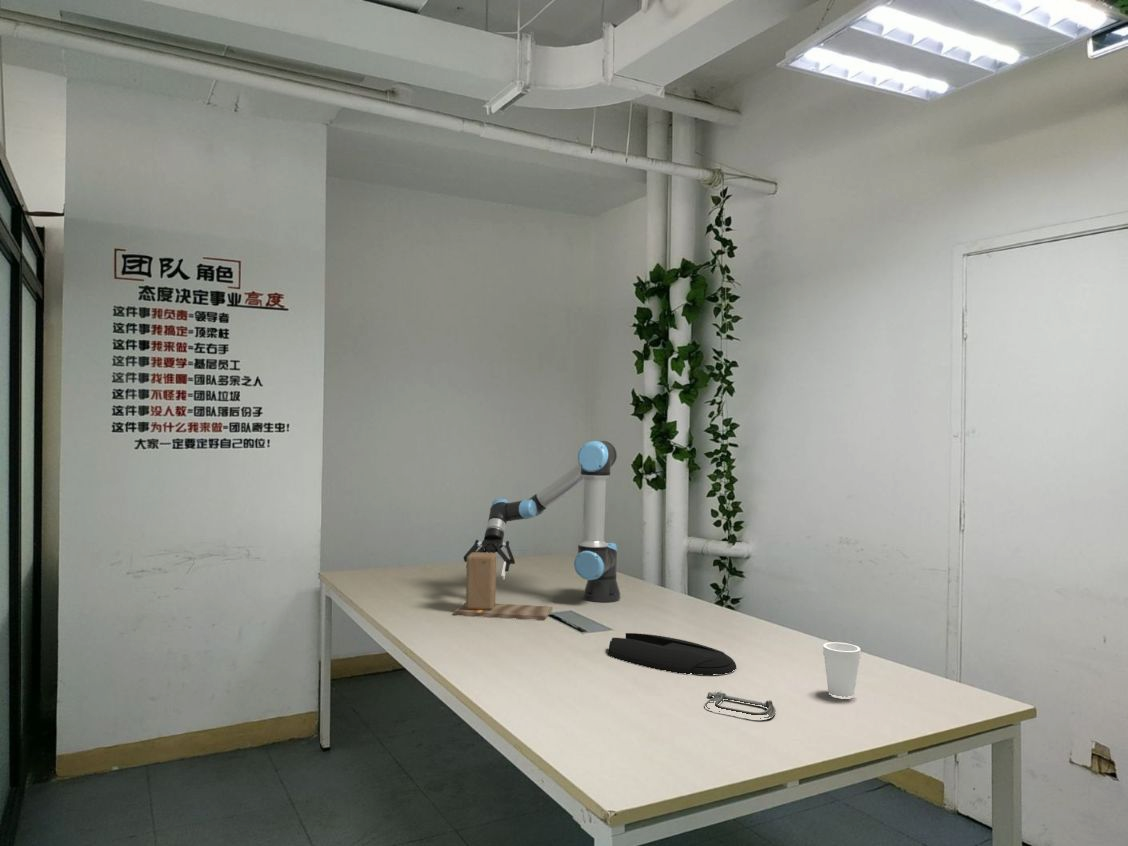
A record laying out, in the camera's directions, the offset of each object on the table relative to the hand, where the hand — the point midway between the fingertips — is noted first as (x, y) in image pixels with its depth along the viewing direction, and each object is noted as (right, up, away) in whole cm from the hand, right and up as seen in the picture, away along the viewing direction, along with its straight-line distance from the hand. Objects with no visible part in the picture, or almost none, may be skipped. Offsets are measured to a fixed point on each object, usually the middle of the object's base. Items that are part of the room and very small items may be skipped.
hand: (485, 576), depth 312 cm
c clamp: (+75, -14, -105) cm, 130 cm away
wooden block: (-1, -10, -7) cm, 12 cm away
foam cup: (+104, -14, -95) cm, 142 cm away
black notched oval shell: (+63, -14, -64) cm, 91 cm away
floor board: (+8, -12, -8) cm, 16 cm away
